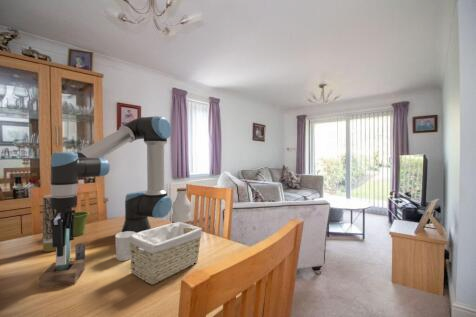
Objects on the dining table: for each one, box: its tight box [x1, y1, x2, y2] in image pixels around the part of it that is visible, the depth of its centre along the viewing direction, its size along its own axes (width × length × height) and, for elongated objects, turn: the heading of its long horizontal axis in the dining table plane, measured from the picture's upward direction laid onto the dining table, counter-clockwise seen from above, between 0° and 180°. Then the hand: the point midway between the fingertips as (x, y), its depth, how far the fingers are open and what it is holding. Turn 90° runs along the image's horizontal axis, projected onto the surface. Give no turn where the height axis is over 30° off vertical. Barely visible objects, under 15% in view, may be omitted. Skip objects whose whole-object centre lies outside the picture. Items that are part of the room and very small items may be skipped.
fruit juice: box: [171, 187, 192, 234], centre depth 111 cm, size 9×9×28 cm
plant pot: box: [72, 211, 90, 238], centre depth 121 cm, size 12×12×11 cm
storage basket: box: [129, 222, 203, 285], centre depth 87 cm, size 24×16×15 cm
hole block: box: [38, 258, 86, 290], centre depth 79 cm, size 10×10×4 cm
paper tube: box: [42, 193, 56, 253], centre depth 102 cm, size 7×7×25 cm
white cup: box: [114, 231, 135, 262], centre depth 96 cm, size 8×8×10 cm
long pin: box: [57, 228, 70, 271], centre depth 78 cm, size 3×3×14 cm
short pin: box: [74, 242, 86, 261], centre depth 91 cm, size 3×3×7 cm
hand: (63, 261), depth 78 cm, fingers closed on long pin, 3 cm apart
